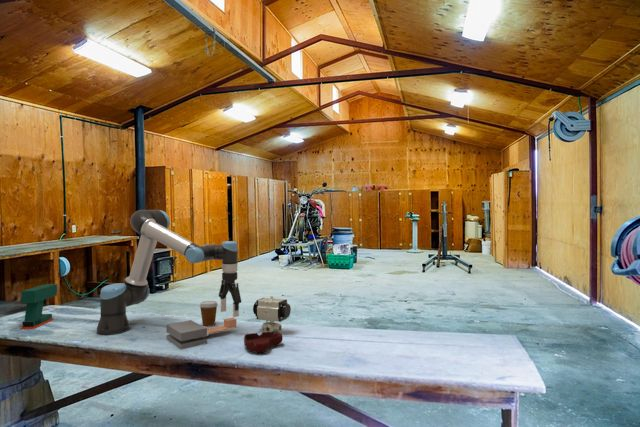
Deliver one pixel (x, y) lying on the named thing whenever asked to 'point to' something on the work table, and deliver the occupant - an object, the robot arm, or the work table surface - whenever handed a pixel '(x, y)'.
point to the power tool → (37, 305)
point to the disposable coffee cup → (208, 312)
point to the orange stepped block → (227, 325)
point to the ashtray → (262, 341)
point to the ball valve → (271, 312)
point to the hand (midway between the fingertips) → (229, 314)
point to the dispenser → (186, 334)
